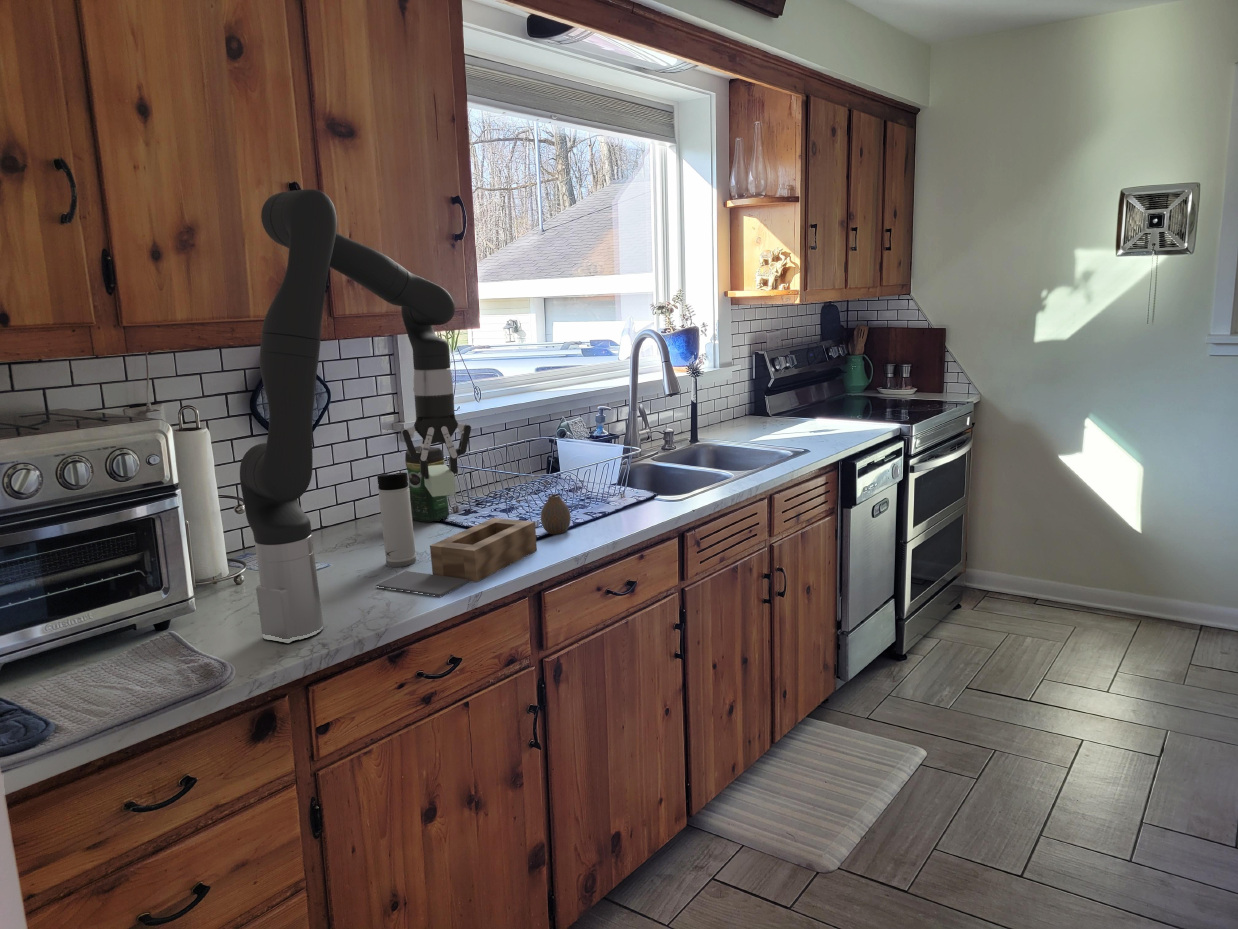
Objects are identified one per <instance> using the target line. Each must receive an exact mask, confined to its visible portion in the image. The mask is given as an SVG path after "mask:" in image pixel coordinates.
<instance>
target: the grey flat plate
mask: <svg viewBox="0 0 1238 929" xmlns="http://www.w3.org/2000/svg"><path fill="white" fill-rule="evenodd" d="M468 583H470V581H469V579H463V578H455V577H448V576H440V575H433V573H424V572H415V571H411V570H410V571H409V570H405V571H403V572H401V573H399V574H397V575H394V576H391V577H390V578H388V579H385V580H383V581H382V582H379V583H377V584H375V587H376V586H379V587H384V588H391V589H396V590H403V591H410V592H418V593H423V594H429V595H435V596H434V597H436V596H442V595H444V594H446V595H448V594H449V592H450V593H451V592H453V591H456V590H458V589H459V588H461V587H463V586H465V585H466V584H467V585H468ZM447 593H448V594H447ZM423 594H422V595H423ZM429 595H428V596H429ZM444 596H445V595H444ZM442 597H443V596H442Z"/></svg>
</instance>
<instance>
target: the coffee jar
mask: <svg viewBox="0 0 1238 929" xmlns="http://www.w3.org/2000/svg"><path fill="white" fill-rule="evenodd" d="M414 448H415V450H416V452H420V450H421V445H418V446H414ZM404 453H405V456H404V457H405V459H404V462H405V466H406V469H407V476H408V485H409V493H410V503H411V513H412V520H415V521H420V522H426V523H431V522H436V521H437V522H440V520H441V519H443V518H445V519H446V518H448V517H449V516H450V508H449V502H448V495H445V496H435V497H432V495H431V494H430V492H429V491H428V489H427V488H426V486H425V481H424V476H422V475H421V473H420V461H419V459H415V458H412V457H411V456H410V454H409V451H408V449H406V451H405V452H404ZM427 461H428V466H433V465H445V457H444V452H443V450H442V449H441V448H440V447H433V446H430V449H429V451H428V455H427ZM443 520H444V519H443ZM441 521H442V520H441Z"/></svg>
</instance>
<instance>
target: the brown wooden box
mask: <svg viewBox="0 0 1238 929" xmlns="http://www.w3.org/2000/svg"><path fill="white" fill-rule="evenodd" d="M536 530H537V529H536V521H531V520H520V519H519V520H518V519H508V518H507V519H506V518H498V517H492V518H489V519H488V520H485V521H483V522H481V523H478V524H476V525H474V526H471V527H469V528H467V529H465V530H462V531H459V532H457V533H455V534H452V535H451V536H448V537H446V538H444V539H442V540H440V541H437V542H435V543H432V544H431V545H429V549H430V550H429V551H430V552H429V553H430V559H431V562H430V563H431V571H432V573H431V574H433V575H440V576H448V577H455V578H463V579H469V582H474V583H478V582H481V581H482V580H485V579H486V578H488V577H489V576H491V575H493V574H496V573H497V572H499V571H501V570H503V569H505V568H507V567H509V566H510V565H512V564H515V563H516V562H518V561H520V560H522V559H524V558H525V557H528V556H530V555H531V554H533V553H535V552H537V551H538V548H537V547H538V546H537V532H536Z"/></svg>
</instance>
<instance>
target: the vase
mask: <svg viewBox="0 0 1238 929" xmlns="http://www.w3.org/2000/svg"><path fill="white" fill-rule="evenodd" d="M540 523H541V525H542V528H543V530H544V531H545V532H546V533H547V534H549V535H561V534H564V533H566V532H567V531H568V530H569V528H570V524H571V512H570V509H569V506H568V504H566V503H565V501H564V500H563V499H562V498H561V496H560V494H550V495H549V496H548V498H547V500H546V502H545V503H544V504H543V507H542V509H541V512H540Z"/></svg>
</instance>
